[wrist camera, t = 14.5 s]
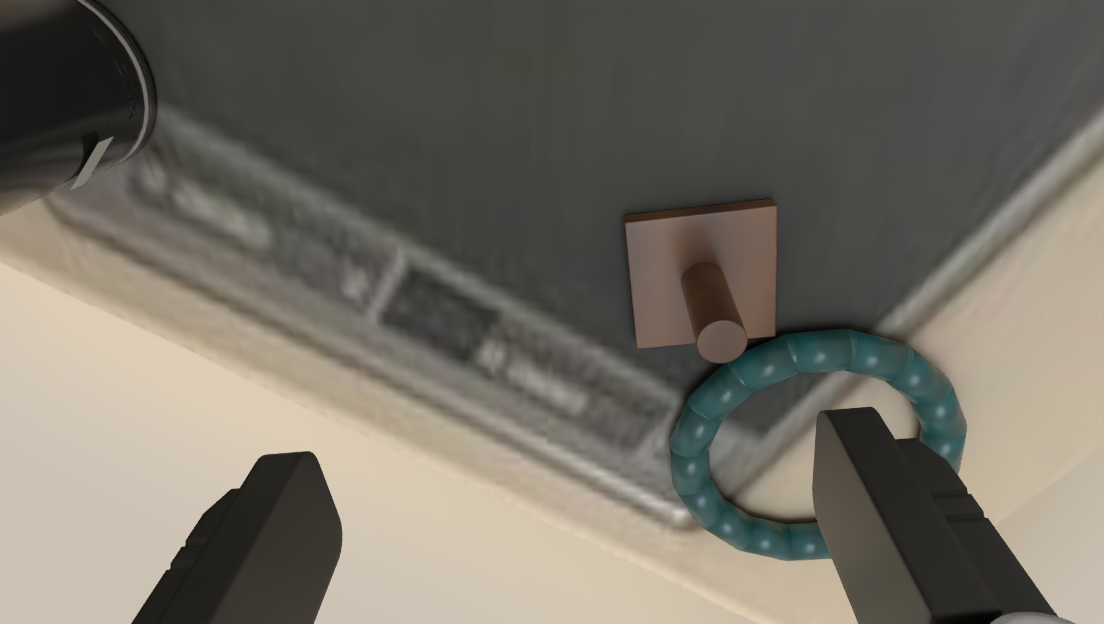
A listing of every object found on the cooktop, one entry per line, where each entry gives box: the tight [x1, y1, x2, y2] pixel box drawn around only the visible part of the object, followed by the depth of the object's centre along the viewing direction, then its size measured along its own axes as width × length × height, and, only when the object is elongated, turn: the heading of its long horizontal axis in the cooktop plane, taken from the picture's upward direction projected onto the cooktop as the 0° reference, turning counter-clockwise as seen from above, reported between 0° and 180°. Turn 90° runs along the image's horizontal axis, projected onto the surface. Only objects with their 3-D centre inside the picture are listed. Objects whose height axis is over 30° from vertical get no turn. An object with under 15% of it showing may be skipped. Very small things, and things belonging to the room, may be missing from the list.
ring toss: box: [624, 199, 777, 363], centre depth 36 cm, size 8×8×8 cm
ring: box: [670, 329, 967, 561], centre depth 43 cm, size 18×18×2 cm
